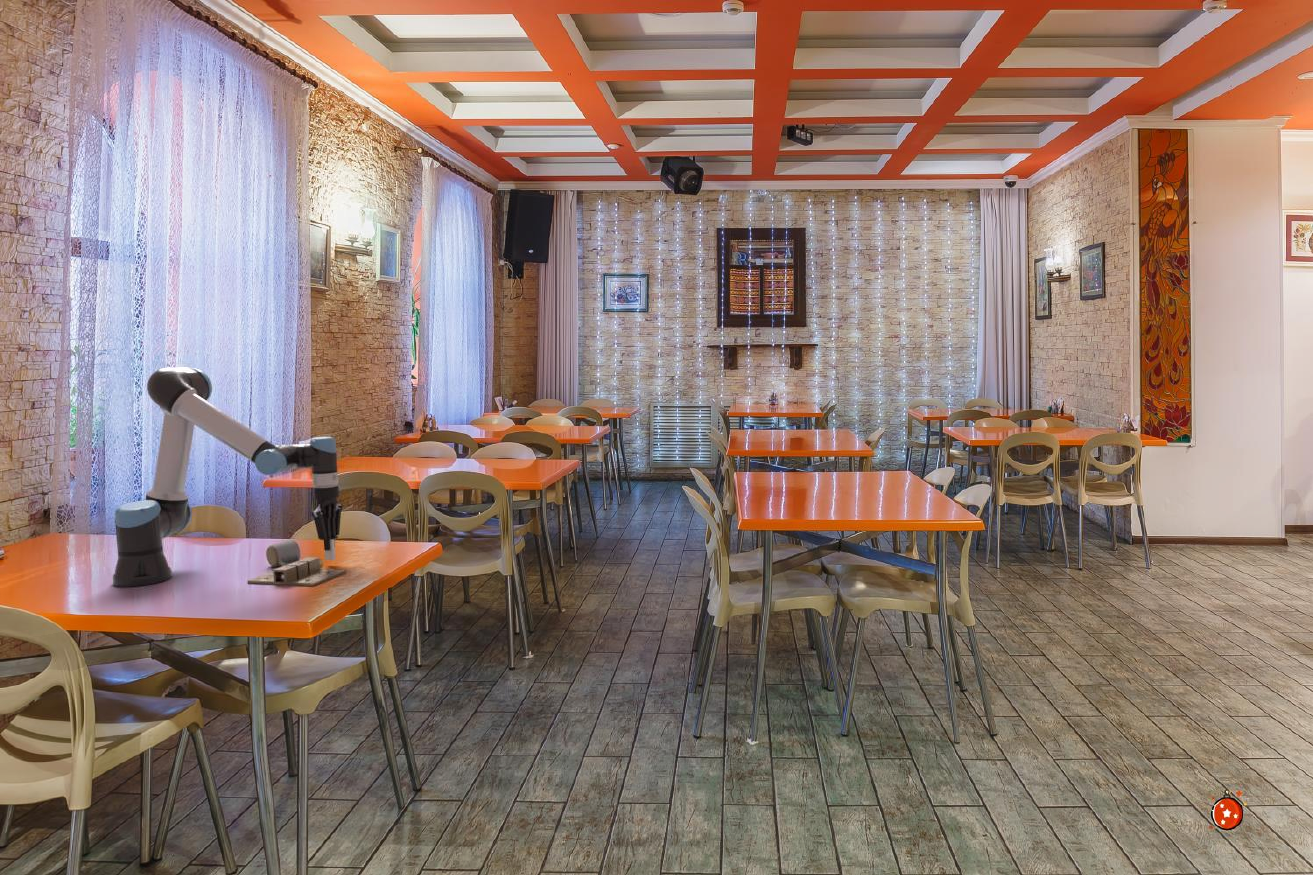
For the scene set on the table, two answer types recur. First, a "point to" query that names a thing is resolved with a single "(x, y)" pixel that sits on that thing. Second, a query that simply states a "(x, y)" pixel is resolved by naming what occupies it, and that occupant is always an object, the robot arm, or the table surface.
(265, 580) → the hinge
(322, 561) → the pin
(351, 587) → the table surface
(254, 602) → the table surface
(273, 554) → the ceramic mug
